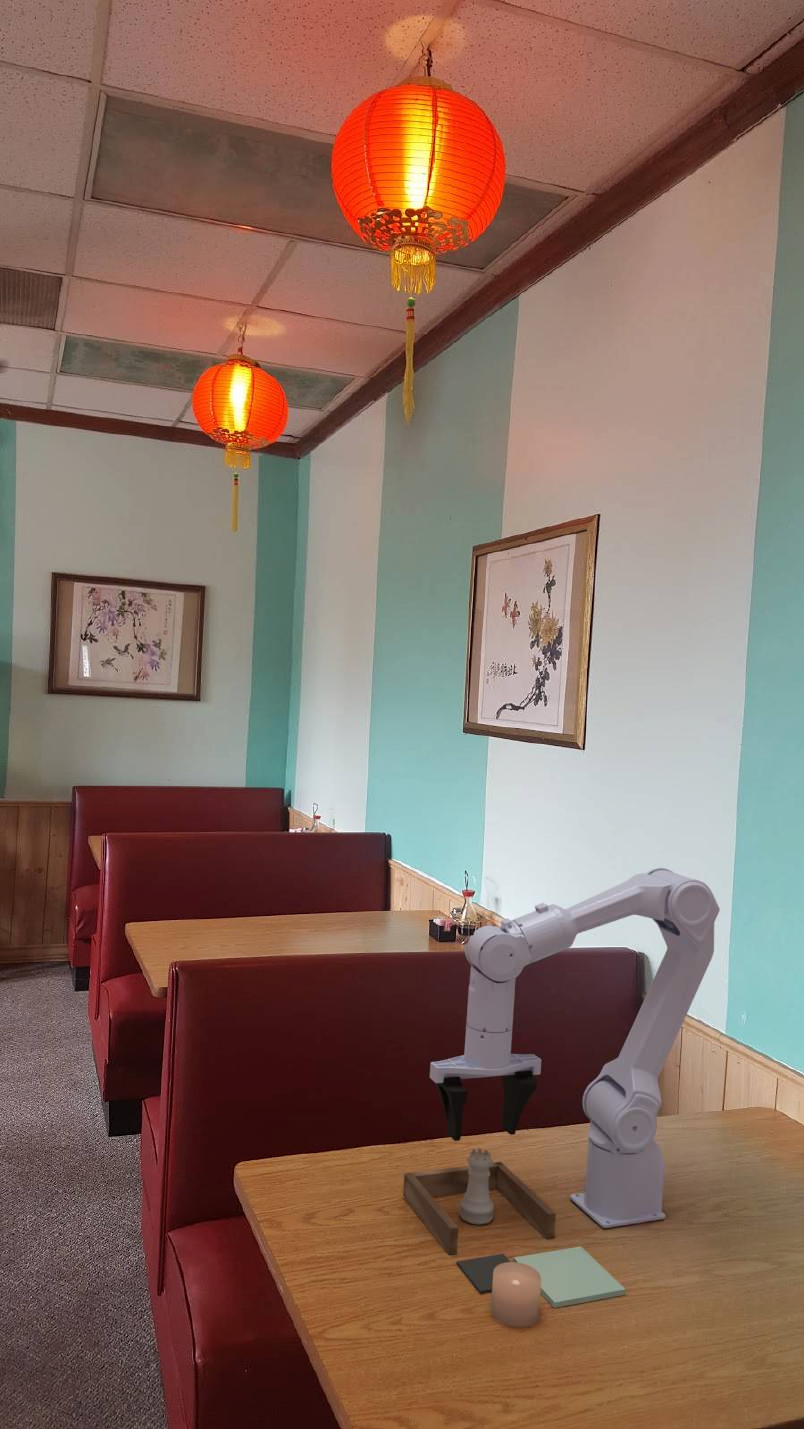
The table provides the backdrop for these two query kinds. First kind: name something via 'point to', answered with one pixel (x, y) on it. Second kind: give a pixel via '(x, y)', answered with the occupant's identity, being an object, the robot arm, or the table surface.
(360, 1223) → the table surface
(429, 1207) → the cubby
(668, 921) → the robot arm
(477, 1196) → the rook chess piece
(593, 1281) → the coaster
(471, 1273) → the dark gray tile
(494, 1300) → the peach short cylinder
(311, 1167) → the table surface
